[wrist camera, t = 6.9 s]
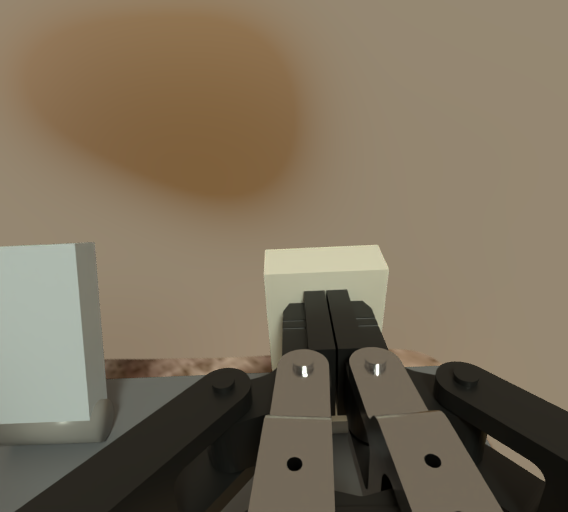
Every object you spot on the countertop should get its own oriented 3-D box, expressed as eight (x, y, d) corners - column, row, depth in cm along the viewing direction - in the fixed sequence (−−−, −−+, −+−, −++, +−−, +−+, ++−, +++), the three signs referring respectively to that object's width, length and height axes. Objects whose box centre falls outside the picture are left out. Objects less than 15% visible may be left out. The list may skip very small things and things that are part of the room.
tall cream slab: (273, 444, 17) (257, 276, 12) (274, 409, 18) (260, 248, 14) (374, 440, 16) (396, 270, 12) (366, 405, 18) (382, 243, 13)
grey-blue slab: (-6, 454, 16) (-28, 248, 16) (23, 432, 18) (5, 246, 17) (95, 450, 16) (78, 243, 15) (115, 428, 18) (100, 242, 17)
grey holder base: (-115, 626, 16) (-188, 536, 14) (14, 456, 24) (-20, 380, 21) (501, 607, 16) (530, 511, 13) (429, 441, 23) (439, 362, 21)
